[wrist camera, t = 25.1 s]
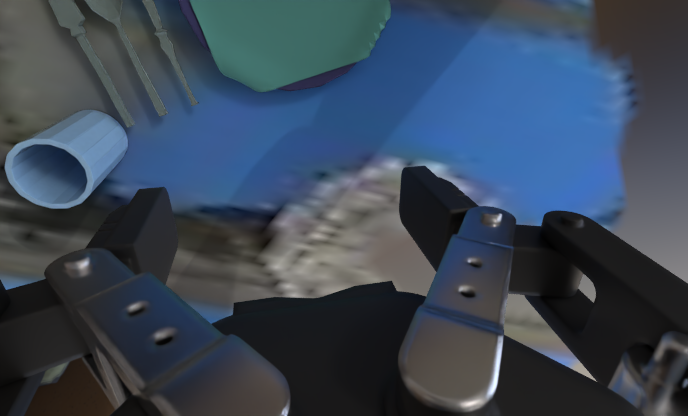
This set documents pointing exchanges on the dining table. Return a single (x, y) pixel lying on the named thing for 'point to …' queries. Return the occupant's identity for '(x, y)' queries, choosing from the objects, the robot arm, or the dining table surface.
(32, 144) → the cup
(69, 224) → the dining table surface
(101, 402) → the brown bottle
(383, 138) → the dining table surface
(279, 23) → the cutlery set
